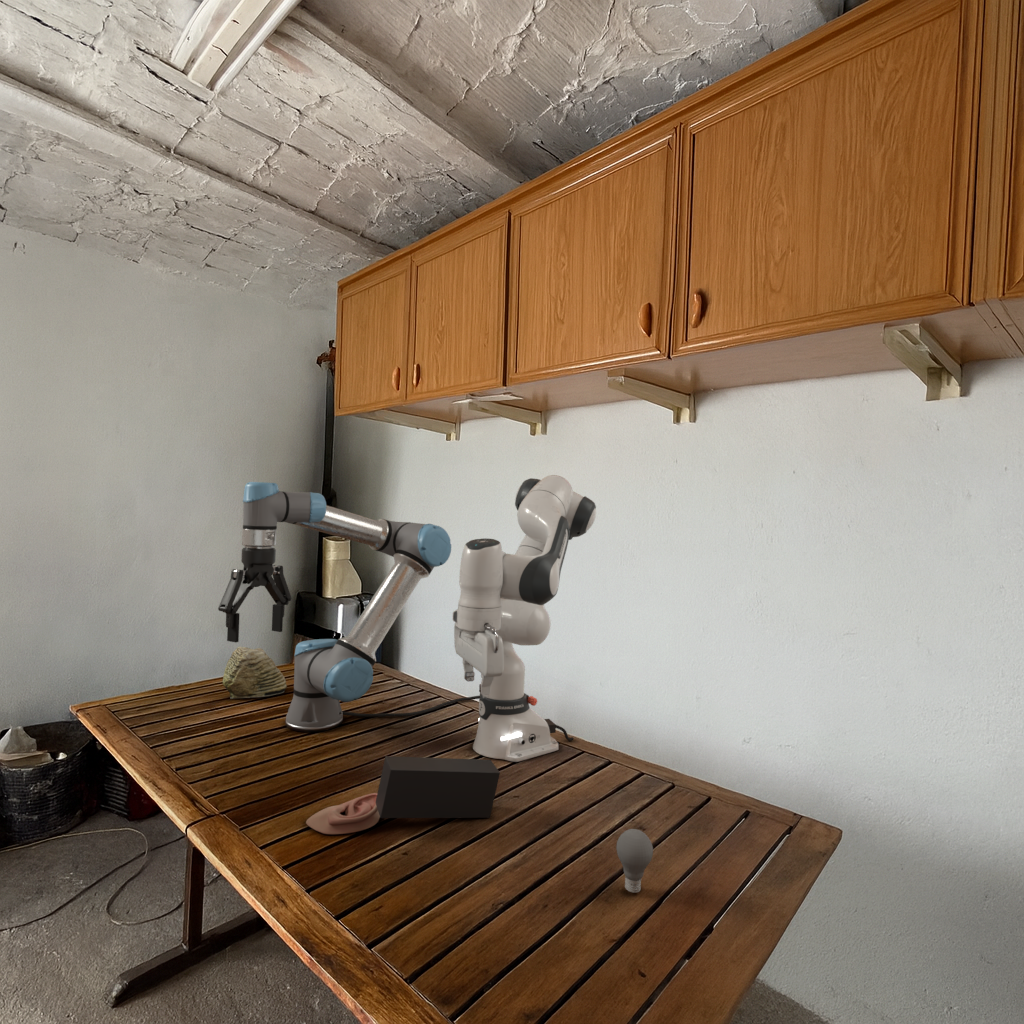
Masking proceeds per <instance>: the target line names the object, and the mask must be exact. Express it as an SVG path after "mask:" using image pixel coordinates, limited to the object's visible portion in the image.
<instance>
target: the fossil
mask: <svg viewBox="0 0 1024 1024" xmlns="http://www.w3.org/2000/svg"><path fill="white" fill-rule="evenodd" d="M222 676H223V677H222V685H223V687H224V688H225V690H226V691H228V693H229V698H230V699H250V698H264V697H271V696H275V695H281V694H284V693H285V691H286V689H287V687H288V686H287V680H286V678H285V676H284V674H283V673H282V672H281V669H279V668H278V667H277V665H276V663H275V662H274V660H273V659H272V658H271V657H270V656H269V655H268V654H267V653H266V652H265V650H264V649H263V648H260V647H258V648H251V647H247V646H246V647H245V646H238V647H237V648H236V649H235V650H233V651H232V653H231V656H230V657H229V659H228V660H227V663H226V666H225V668H224V671H223V675H222Z"/></svg>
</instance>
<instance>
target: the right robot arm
mask: <svg viewBox="0 0 1024 1024" xmlns="http://www.w3.org/2000/svg"><path fill="white" fill-rule="evenodd" d="M514 500H515V502H514V506H515V509H516V510H517V513H516V516H517V523H518V525H519V528H520V529H521V530H522V532H523V533H524V534H525V535H524V537H523V539H522V540H521V542H520V544H519V546H518V547H517V550H515V554H514V553H513V554H511V553H506V552H505V551H503V549H502V547H503V546H502V543H501V541H499V540H498V539H495V538H487V537H486V538H484V537H483V538H475V539H471V540H469V541H467V542H466V543H465V544H464V546H463V549H462V553H461V558H460V565H459V575H458V576H459V578H458V579H459V580H458V584H459V588H460V596H459V599H458V602H457V609H455V610H453V611H452V621H453V622H454V627H453V636H454V637H453V638H454V639H453V641H454V650H455V653H456V655H458V656H459V657H460V658H461V659H462V667H463V673H464V674H463V679H464V681H466V682H474V681H475V675H476V673H475V671H474V670H477V672H479V673H480V674H481V675H480V677H481V681H480V684H478V685H479V686H478V687H479V688H478V689H479V691H478V692H479V696H480V698H479V701H478V715H479V718H478V724H477V729H476V734H475V737H474V738H475V739H474V741H473V744H472V749H473V751H474V752H476V753H477V754H479V755H481V756H483V757H487V758H491V759H497V760H505V761H508V762H513V763H518V762H522V761H526V760H529V759H532V758H536V757H540V756H543V755H546V754H550V753H553V752H557V751H559V748H560V747H559V746H560V745H559V742H558V741H557V740H556V739H555V738H554V737H553V736H551V734H556V731H557V730H556V729H558V730H560V731H561V732H562V733H563V735H564V738H565V739H566V740H567V741H568V742H573V741H574V737H573V736H572V737H569V736H568V732H567V730H566V729H565V728H564V727H562V726H560V725H558V724H556V723H554V721H552V719H550V718H543V717H542V716H541V715H540V714H539V713H537V712H536V711H535V710H534V709H532V708H531V707H530V705H531V706H532V707H533V706H536V705H537V704H538V699H537V698H536V697H534V696H533V695H529V694H527V693H525V682H526V681H525V679H526V677H525V676H526V666H525V663H524V661H523V660H522V658H521V657H520V656H519V655H518V653H517V652H516V651H515V647H514V645H518V646H538V645H541V644H542V643H544V642H545V641H546V639H547V637H548V636H549V634H550V631H551V625H552V623H551V617H550V614H549V612H548V610H547V608H546V606H545V604H547V603H548V602H550V601H551V600H553V599H554V597H556V596H557V593H558V590H559V585H560V580H561V579H560V578H561V571H562V568H563V564H564V560H565V556H566V553H567V549H568V545H569V541H572V540H573V538H579V537H581V536H583V535H584V534H586V533H587V532H588V531H589V530H590V529H591V528H592V526H593V525H594V524H595V520H596V516H597V511H596V508H597V506H596V503H595V502H594V500H592V499H591V498H589V497H587V496H586V495H584V496H583V495H581V494H579V493H577V492H575V491H573V487H572V485H571V483H570V482H569V481H568V480H567V479H566V478H565V477H563V476H560V475H557V474H549V475H547V476H545V477H543V478H542V479H539V478H527V479H525V480H524V481H523V482H522V483H521V484H520V486H519V487H518V489H517V490H516V493H515V499H514ZM513 644H514V645H513Z"/></svg>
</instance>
